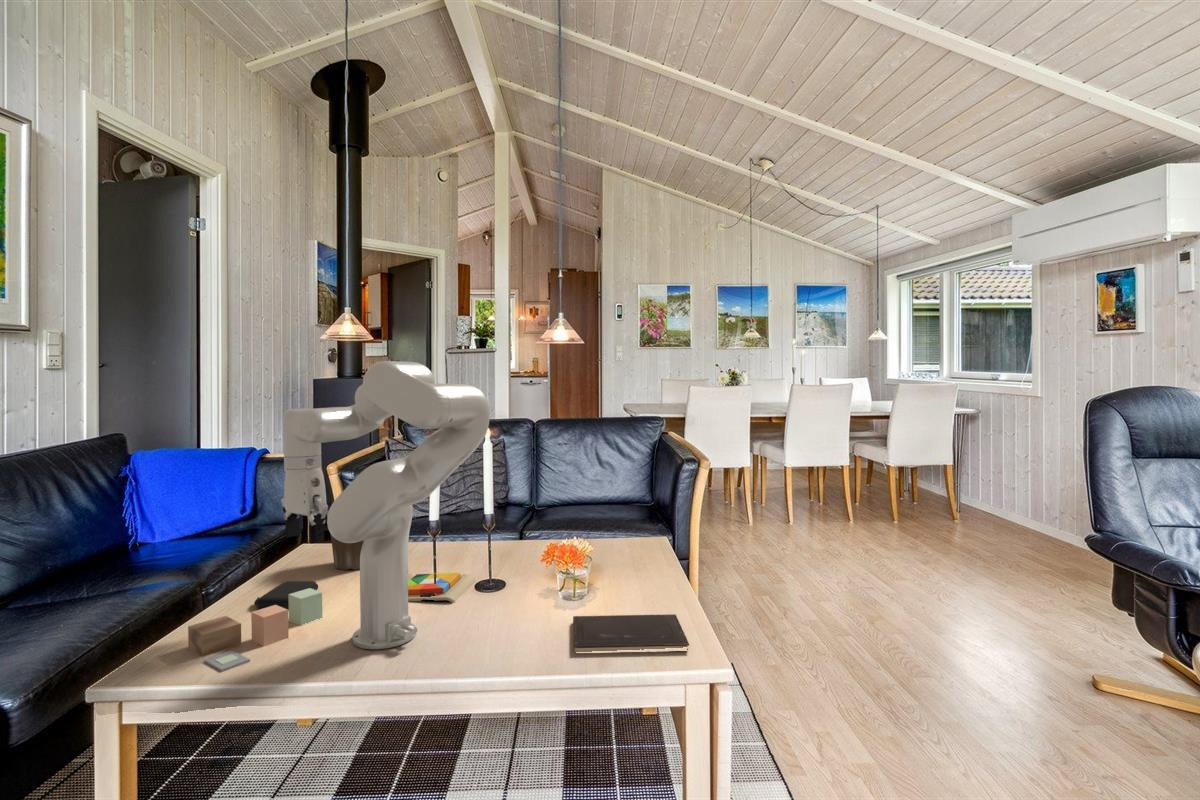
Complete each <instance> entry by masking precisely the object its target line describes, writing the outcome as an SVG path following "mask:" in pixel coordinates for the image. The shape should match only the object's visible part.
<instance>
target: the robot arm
mask: <svg viewBox="0 0 1200 800" xmlns="http://www.w3.org/2000/svg"><path fill="white" fill-rule="evenodd" d="M435 379H436V378H435V376H434V374H433V372H432V371H431V369H429V368H428V367H427V366H426V365H424V364H422V363H420V362H416V361H403V360H402V361H399V360H398V361H395V360H384V361H379V362H378V361H377V362H376V363H374V364H372V365H371V366H370V367H369V368H368V369H367V371H365V374H364V376H363V378H362V384H361V385H359V386H358V387H357V389H356V391H355V394H354V402H355V403H354V404H351V405H350V406H335V407H334V406H332V407H318V408H290V409H287V410H285V411H284V413H283V415H282V418H283V419H282V422H283V423H282V425H283V427H282V429H283V465H284V466H283V467H284V472H285V473H284V483H283V484H284V485H283V486H284V487H283V497H282V498H281V500H280V501H281V505H282V511H283V514H284V515H283V519H284V520H285V521H284V522H285V524H284V526H285V527H284V528H285V538H293V537H299V536H301V517H299V516H305V517H306V516H307V519H308V521H309V523H310V524H309V525H308V538H309V539H308V543H310V544H315V543H320V542H323V541H325V523H326V524H327V529H328V531H329V533H330V536H331V535H332V536H333V537H334V538H335V539H337V540H338V541H340V542H343V543H356V542H360V541H363V540H364V542H363V545H362V548H361V554H360V569H359V596H360V597H359V598H360V599H359V607H360V608H359V609H360V610H359V614H360V615H359V616H360V618H359V619H360V623H359V625H360V627H359V628H358V629H356V631H354V632H353V634H352V640H351V641H352V644H353V646H354V645H355V647H358V648H360V649H365V650H385V649H391V648H395V647H398V646H401V645H403V644H406V643H408V642H410V641H412V639H414V637H415V636H416V635H417V632H418V628H417V626H416V625H415V624H414V623H412V621H411V620H412V617H411V616H410V615H409V602H408V574H409V537H410V532H411V531H410V530H411V526H412V519H413V514H414V513H413V511H414V510H413V509H414V508H413V506H414V505H416V504H418V503H421V502H423V501H425V500H426V499H427V498H428V497H430V495H432V493H434V491H436V490H437V488H438V487H440V486H441V485H442V484H443V483H444V482H445V481H446V480H447V479H448V478H449V477H450V476H451V475H452V473H454V471H456V469H457V468H459V467H460V466H461V465H462V464H463V463H464V462H465V461H466V460H467V459H468V458H470V456H471V455H472V454H473V453H474V452H475V451H476V450H477V448H479V446H480V445H481V443H482V442H483V441H484V438H485V437H486V435H487V433H488V429H489V425H490V419H491V416H490V415H491V411H490V406H489V405H490V404H489V401H488V399H487V397H486V395H485V393H483V391H481V389H479V388H478V387H475V386H473V385H471V384H465V383H452V382H451V383H436V380H435ZM392 416H394V417H396V418H398V419H400V420H401V421H403V422H405V423H406V424H409V425H411V426H413V427H415V428H418V429H421V430H422V429H423V430H436V431H434V432H433V433H431V434H430V435H428V436H427V437H425V438H424V439H423V441H422V442H421V443H420V444H419V445H418V446H417V447H416V448H415V449H413V451H411V452H410V453H409V454H408V455H406V456H403V457H400V458H394V459H389V460H382V461H378V462H376V463H373V464H371V465H369V466H368V467H366V468H365V469H363V470H362V471H361V472H360V473H359V474H358V475H357V476H356V477H355V478H354V479H353V480H352V481H351V482H350V483H349V484H348V485H347V487H345V489H344V490H343V491H342V492H341V493H340V494H338V496H337V497H336V498H335V499H334V501H333V502H332V503H331V506H330V507H329V506H328V504H327V492H326V483H325V482H326V481H325V476H324V472H323V469H322V443H323V444H324V443H330V442H339V441H349V440H353V439H357V438H360V437H362V436H365V435H367V434H369V433H371V432H374V431H375V430H377V429H379V428H381V426H382V425H383V424H384V422H385V421H386V419H389V418H390V417H392ZM328 510H329V513H328V517H327V511H328ZM314 516H315V517H314ZM326 518H327V519H326Z"/></svg>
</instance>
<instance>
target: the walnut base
mask: <svg viewBox="0 0 1200 800" xmlns="http://www.w3.org/2000/svg"><path fill="white" fill-rule="evenodd" d="M187 630H188V631H187V633H188V635H187V636H188V637H187V639H188V640H187V642H188V643H187V644H188V648H189V650H192V652H195V653H197V654H198V655H200V656H202V657H203V658H204V657H207V656H210V655H213V654H216V653H219V652H222V651H225V650H228V649H230V648H234V647H237V646H241V645H242V623H241V622H239V621H237V620H235V619H233V618H231V617H229V616H228V615H222V616H220V617H215V618H213V619H210V620H205V621H203V622H202V621H201V622H198V623H195V624H191V625H188V627H187Z"/></svg>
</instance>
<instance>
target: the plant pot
mask: <svg viewBox="0 0 1200 800" xmlns="http://www.w3.org/2000/svg"><path fill="white" fill-rule="evenodd" d="M329 510H330V509H328V511H327V517H328V513H329ZM327 517H326V518H327ZM330 540H331V547H332V549H331V550H332V555H333V557H332V558H333V566H334V568H335V569H338V570H341V571H348V570H350V569H351V570H353V571H357V570H359V571H360V554H361V548H362V545H363V542H364V540H363V541H360V542H356V543H343V542H340V541H338V540H337V539H335V538H334V537H333V536H332V535H331V534H330Z"/></svg>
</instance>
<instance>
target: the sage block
mask: <svg viewBox="0 0 1200 800" xmlns="http://www.w3.org/2000/svg"><path fill="white" fill-rule="evenodd" d="M288 595H289V610H288V621H289V620H290V621H289V622H291V621H292V622H291V623H294V622H295V623H294V624H296V623H297V624H296V625H298V624H300V625H299V626H304V625H306V624H305V623H307V624H310V623H312V622H311V621H313V622H315V621H314V620H316V619H319V620H321V619H320V618H322V619H323V592H322V591H319V590H318V589H317V590H314V589H311V588H308V589H305V590H302V591H298V592H295V593H291V594H288ZM316 621H317V620H316ZM309 622H310V623H309ZM303 624H304V625H303Z"/></svg>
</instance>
